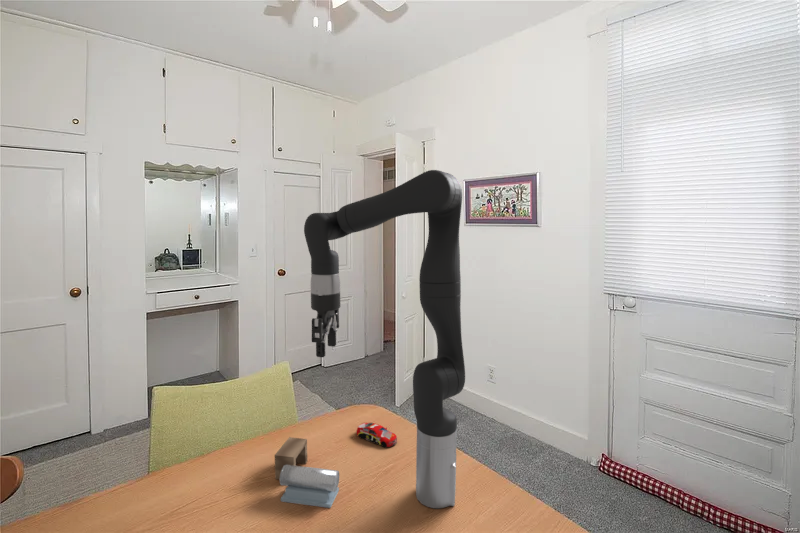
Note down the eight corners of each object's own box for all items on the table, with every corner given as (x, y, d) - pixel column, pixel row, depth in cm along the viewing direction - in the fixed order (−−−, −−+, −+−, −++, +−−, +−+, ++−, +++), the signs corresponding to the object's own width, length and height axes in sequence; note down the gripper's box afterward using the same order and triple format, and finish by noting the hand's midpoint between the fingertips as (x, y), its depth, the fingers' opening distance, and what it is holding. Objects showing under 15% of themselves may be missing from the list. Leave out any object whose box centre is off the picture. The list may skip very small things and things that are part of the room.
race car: (400, 442, 120) (400, 429, 120) (390, 451, 116) (390, 438, 115) (365, 429, 128) (365, 416, 127) (354, 436, 123) (354, 424, 123)
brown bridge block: (307, 461, 110) (306, 439, 109) (294, 481, 102) (293, 457, 101) (289, 459, 111) (289, 437, 110) (275, 479, 103) (274, 455, 102)
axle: (339, 482, 98) (339, 466, 97) (333, 496, 93) (332, 479, 93) (288, 476, 100) (287, 460, 99) (280, 489, 96) (278, 472, 95)
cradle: (338, 490, 99) (338, 479, 98) (330, 507, 93) (330, 496, 93) (291, 484, 101) (291, 474, 100) (280, 501, 95) (280, 490, 95)
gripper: (321, 285, 114) (322, 342, 116) (300, 295, 100) (302, 359, 102) (347, 286, 113) (348, 343, 115) (330, 296, 99) (331, 361, 101)
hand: (326, 351), depth 108 cm, fingers open, 8 cm apart
